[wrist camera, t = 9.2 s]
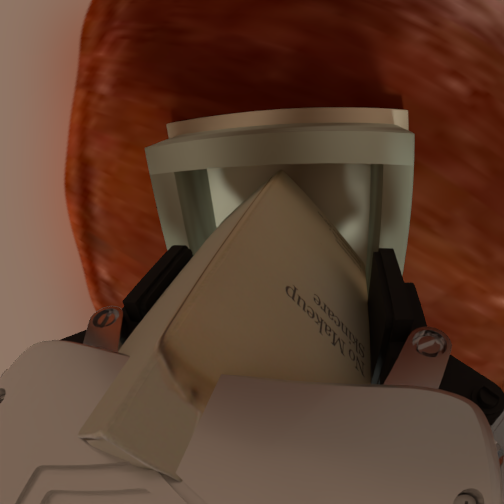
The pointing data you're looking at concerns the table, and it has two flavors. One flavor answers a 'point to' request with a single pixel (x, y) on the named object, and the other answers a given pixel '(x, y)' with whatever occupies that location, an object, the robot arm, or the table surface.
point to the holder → (290, 171)
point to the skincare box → (238, 325)
